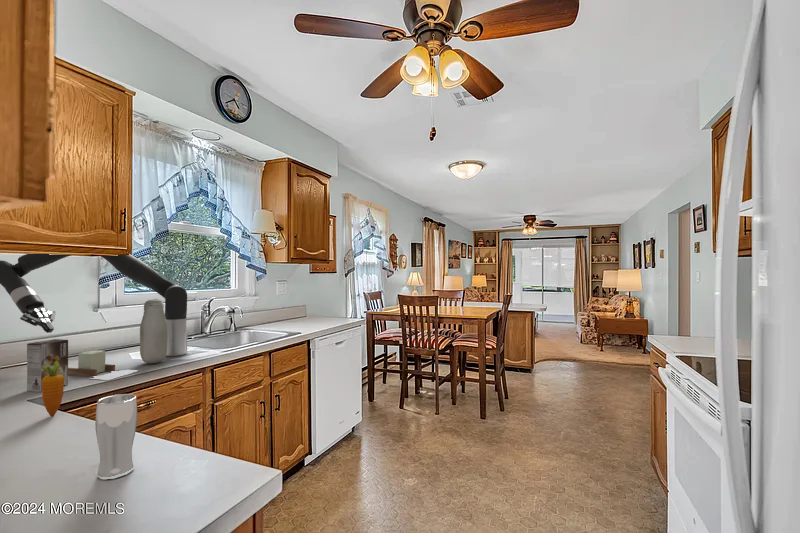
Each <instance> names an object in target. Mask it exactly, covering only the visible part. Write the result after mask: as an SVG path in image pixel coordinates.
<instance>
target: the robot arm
mask: <svg viewBox="0 0 800 533" xmlns="http://www.w3.org/2000/svg"><path fill="white" fill-rule="evenodd" d="M71 256H72V255H49V254H28V253H26V254H23V255H21V256H19V257H18V258H17V263H14V264H15V265H14V264H12V263H10V262H9V261H6V260H0V285H1V286H2V287H3V288H4V289H5V292H6V293H8V295H9V297H10V298H11V300H12V301H13V303H14V305H15V306H16V307H17V308H18V310H19V311H20V312H21V313H22V315H21V316H20V317H19V319H20V321H23V322H25V323H27V324H30V325H32V326H34V327H37V326H39V327H41V328H42V330H43V331H44V332H45V333H47V334H48V333H49V334H50V333H53V331H54V329H55V328H54V326H53V325H52V322H53V321H55V319H56V318H55V317H56V314H57V311H55V310H53V311H49V310H48V308H47V307H45V302H44V301H43V300H42V298H41V297H40V296H39V295H38V293H37V292H36V291H35V289H33V288H32V287H31V285H30V284H29V283H28V282H27V281H26V280H25V278H23V277H24V276H26V275H27V274H29V273H30V272H32V271H34V270H38V269H40V268H44V267H46V266H49V265H51V264H53V263H55V262H58V261H60V260H62V259H65V258H67V257H71ZM100 257H101V258H102V259H104V260H105V261H107V262H108V263H109V264H110V265H111V266H112V267H113V268H114V269H116V270H117V271H118V272H119V273H120V274H122V275H123V276H125V277H127V278H128V279H130V280H132V281H133V282H135V283H137V284H139V285H140V286H142V287H143V286H144V287H146V288H148V289H151V290H153V291H154V292H156V293H157V294H158V295H159V296H161V297H162V298H164V314H165V318H166V321H167V325H168V339H167V354H166V356H167V357H175V356H183V355H185V354H187V353H188V333H187V314H188V292H187V290H186V289H185V287H183V286H181V285H179V284H176V283H174V282H173V281H170V280H168V279H166V278H165V277H163V276H162V275H161V274H159V273H158V272H157V271H156V270H155V269H153V268H152V267H151V266H150V265H148V264H147V263H145V262H143V261H142V260H140V259H139V258H137V257H135V256H134V255H132V254H130V253H129V255H118V256H100Z"/></svg>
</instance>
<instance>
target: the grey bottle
mask: <svg viewBox="0 0 800 533" xmlns="http://www.w3.org/2000/svg"><path fill="white" fill-rule="evenodd" d="M140 322H141V323H140V326H139V353H140V354H139V355H140V358H141V360H142V361H143V362H144V363H146V364H157V363H160V362H162V361H163V360H165V358H166V354H167V339H168V325H167V321H166V318H165V303H164V301H162V300H161V299H157V298H154V299H153V298H152V299H148V300H146V301H145V303H144V304H143V315H142V318H141V321H140Z"/></svg>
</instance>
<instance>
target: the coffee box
mask: <svg viewBox="0 0 800 533" xmlns="http://www.w3.org/2000/svg"><path fill="white" fill-rule="evenodd" d="M55 361H57V362H59V365H60V366H59V368H58V370H57V374H56V375H62V376H63V377H64V385H65V386H68V385H69V375H68V368H69V339H58V338H57V339H56V338H55V339H54V338H53V339H48V340H41V341H36V342H29V343H26V391H27V392H37V393H42V379H43V378H44V377H46V376H49V373H48V372H47V371H46V370H45V369H42V368H43V367H46V366H50V368H51V369H52V371H53V369H54V362H55Z"/></svg>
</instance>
